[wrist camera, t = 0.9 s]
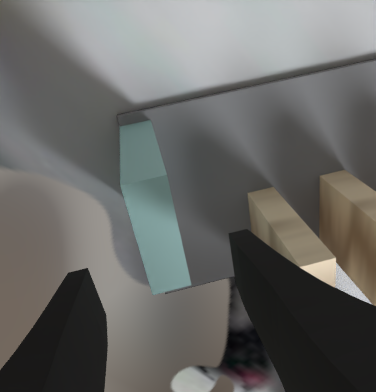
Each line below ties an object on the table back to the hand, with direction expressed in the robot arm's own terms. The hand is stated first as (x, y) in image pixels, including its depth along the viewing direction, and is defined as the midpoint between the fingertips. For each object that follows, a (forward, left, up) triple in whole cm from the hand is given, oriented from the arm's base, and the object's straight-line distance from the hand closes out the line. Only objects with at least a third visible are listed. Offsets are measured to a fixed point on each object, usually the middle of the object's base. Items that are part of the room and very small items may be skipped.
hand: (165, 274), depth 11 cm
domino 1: (0, 0, -9) cm, 9 cm away
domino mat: (-3, -10, -9) cm, 14 cm away
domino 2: (-5, -6, -9) cm, 12 cm away
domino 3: (-5, -11, -9) cm, 15 cm away
